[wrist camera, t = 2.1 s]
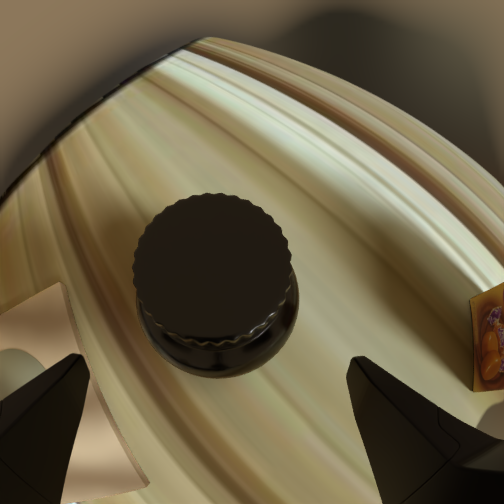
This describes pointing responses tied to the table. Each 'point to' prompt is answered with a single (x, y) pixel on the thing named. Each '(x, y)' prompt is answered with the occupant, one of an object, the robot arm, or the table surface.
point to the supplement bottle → (215, 286)
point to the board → (95, 409)
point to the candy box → (488, 339)
